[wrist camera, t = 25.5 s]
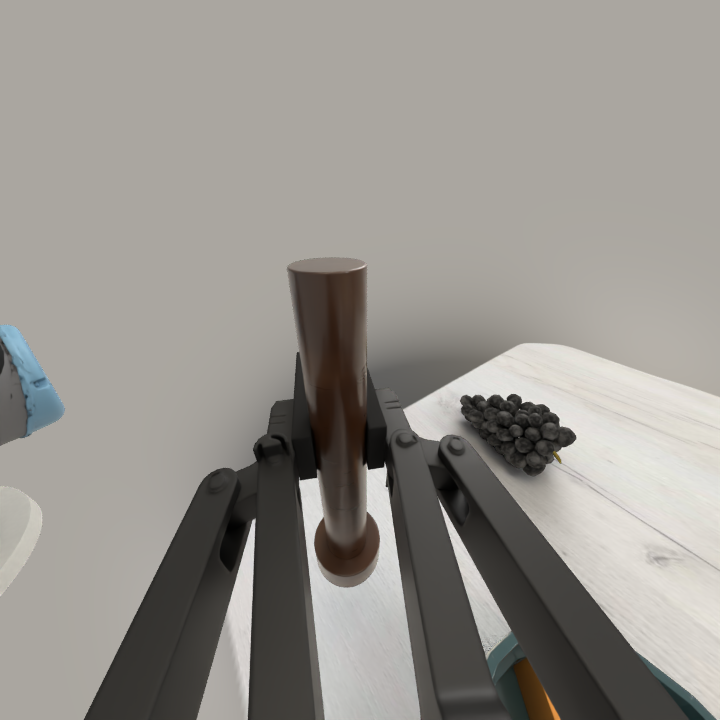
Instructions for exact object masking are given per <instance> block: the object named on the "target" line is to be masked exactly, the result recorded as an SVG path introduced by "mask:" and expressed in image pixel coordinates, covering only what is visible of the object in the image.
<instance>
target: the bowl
mask: <svg viewBox="0 0 720 720" xmlns="http://www.w3.org/2000/svg"><path fill="white" fill-rule="evenodd" d="M634 651H635V650H634ZM635 652H636V651H635ZM636 653H637V652H636ZM637 654H638V656H639V657H640V658H641V659H642V661H643V662H644V663H645V664H646V666H647V667H648V668H649V669H650V671H651V672H652V673H653V674H654V676H655V677H656V678H657V679H658V681H659V682H660V683H661V685H662V686H663V687H664V688H665V690H666V691H667V692H668V693H669V695H670V696H671V697H672V698H673V700H674V701H675V702H676V703H677V705H678V706H679V707H680V708H681V710H682V711H683V712H684V713H685V715H686V716H687V717H688V718H689V720H716V719H715V718H714V716H713V715H712V714H711V713H710V712H709V711H708V710H707V709H706V708H705V707H704V706H703V705H702V704H701V703H700V702H699V701H698V700H697V699H696V698H695V697H694V696H693V695H691V694H690V693H689V692H688V691H686V690H685V689H684V688H683V687H681V686H680V685H679V684H677V683H676V682H675V681H674V680H672V679H671V678H670V677H668V676H667V675H666V674H664V673H663V672H662V671H661V670H659V669H658V668H657V667H655V666H654V665H653V664H652V663H650V662H649V661H648V660H646V659H645V658H644V657H642V656H641V655H640V654H639V653H637ZM485 656H486V660H487V663H488V666H489V670H490V673H491V676H492V680H493V683H494V686H495V688H496V691H497V693H498V696H499V698H500V700H501V701H502V703H503V705H504V706H505V708H506V709H507V711H508V712H509V714H510V716H511V719H512V720H530V719H529V716H528V712H527V709H526V706H525V703H524V700H523V696H522V693H521V690H520V687H519V684H518V680H517V677H516V674H515V671H514V668H513V666H514V665H515V664H517V663H519V662H520V661H522V660H523V659H525V658H527V657H526V656H525V654H524V652H523V650H522V648H521V647H520V645H519V643H518V641H517V639H516V638H515V636H514V634H513V632H512V631H511V632H510V633H509V634H507V635H506V636H505V637H504V638H503V639H502V640H501V641H499V642H498V643H497V644H496V645H495V646H494V647H493V648H492V649H491V650H490V651H489V652H488V653H487V654H486V655H485Z"/></svg>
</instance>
